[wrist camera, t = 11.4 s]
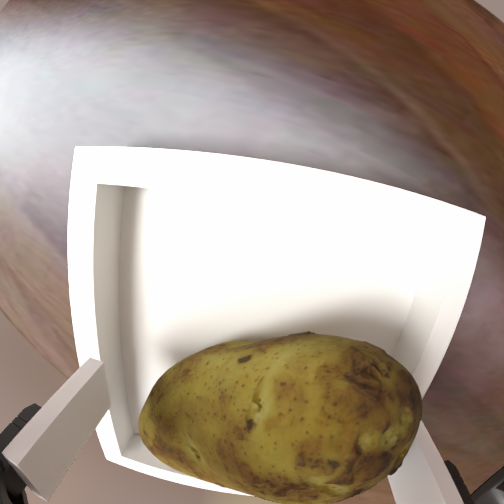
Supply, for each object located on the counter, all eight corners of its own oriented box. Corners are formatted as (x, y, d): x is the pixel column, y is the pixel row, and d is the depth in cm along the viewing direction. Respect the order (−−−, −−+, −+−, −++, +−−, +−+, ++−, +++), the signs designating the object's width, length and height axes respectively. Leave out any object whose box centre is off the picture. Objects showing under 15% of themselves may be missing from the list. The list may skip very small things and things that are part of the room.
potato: (126, 312, 14) (32, 402, 6) (378, 286, 13) (473, 383, 5) (167, 423, 15) (128, 519, 8) (369, 409, 14) (406, 511, 7)
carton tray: (345, 463, 17) (352, 495, 14) (122, 429, 17) (106, 459, 14) (446, 209, 13) (485, 216, 9) (114, 153, 13) (75, 146, 10)
